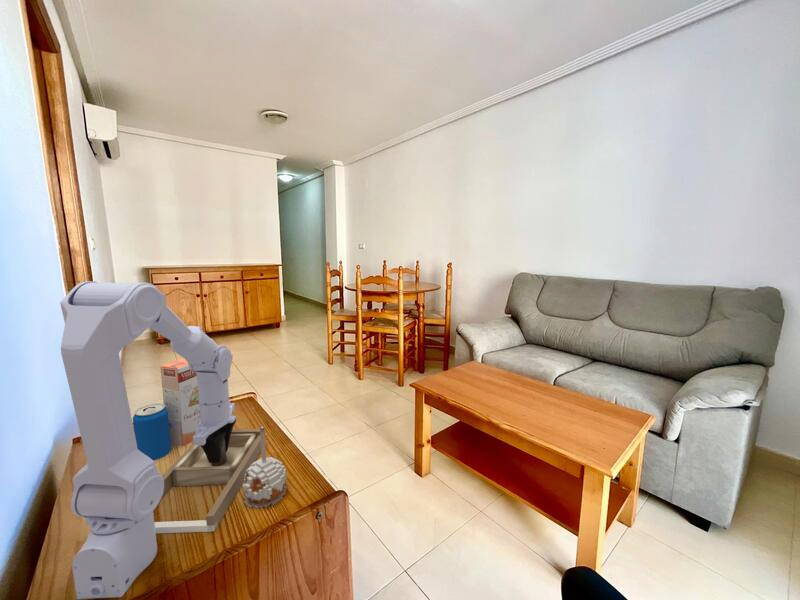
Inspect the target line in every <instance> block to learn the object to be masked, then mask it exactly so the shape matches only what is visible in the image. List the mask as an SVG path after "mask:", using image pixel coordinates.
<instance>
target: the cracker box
mask: <svg viewBox="0 0 800 600" xmlns="http://www.w3.org/2000/svg"><path fill="white" fill-rule="evenodd" d="M160 377H161V388H162V389H161V390H162V391H161V392H162V401H163V403H162V404H164V405H165V408H167V410H168V419H169V429H170V440H171V445H175V446H176V445H177V446H181V447H185V446H187V445H188V444H190V443H191V442H193V436H194V435H195V433H196V431H197V428H198V424H199V421H200V409H199V397H198V385H197V372H194V371H191V370H190V369H189V366H188V362H187V361H186V359H184V358H183V357H181V358H179V359H176V360H174V361H170V362H167V363H164V364H161V365H160Z"/></svg>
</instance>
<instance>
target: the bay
mask: <svg viewBox="0 0 800 600" xmlns="http://www.w3.org/2000/svg"><path fill="white" fill-rule="evenodd" d="M251 433H256V435H257V438H256V440H255V441H254V443H253V444H252V446H251V447H250V449H249V450H248V452H247V454H246V455H245V457H244V458H243V460H242V461H241V463H240V464H239V466H238V468H237V469H236V471H235V472H234V474H233V475H232V477H231V478H230V480H229V481H228V483H227V485H224V488H223V489H222V491H221V492H220V494H219V496H218V497H217V499H216V500H215V502H214V503H213V504H212V506H211V507H210V509H209V511H208V513H207V514H206V516H205V519H202V520H199V519H198V520H178V521H177V520H174V521H154V523H155V532H156V535H157V534H175V533H176V534H179V533H182V534H183V533H184V534H185V533H205V532H206V533H208V532H215V531H216V530H217V527H218V526H219V525H220V523H221V521H222V519H223V517H224V516H225V514H226V512H227V511H228V509H229V507H230V506H231V504H232V502H233V500H235V499H234V498H235V497H236V495H237V493H238V492H239V490H240V489H241V486H243V484H244V479H245V474H246V470H247V469H248V468H249V467H250V466H251V464H253V462H255V461H257V460H258V457H259V456H260V455H261V454H260V453H261V435H260V428H240V429H239V428H238V429H237V428H235V429H232V432H231V434H251ZM193 447H194V445H193V443H192V444H191V445H190V446H189V447H188V448H187V449H186V450H185V451H184V452H183V453H182V454H181V455H180V456H179V458H177V460H175V462H174V463H173V464H172V465H171V466H170V467H169V468H168V469H167V470H166V471H165V472H164V473H163V475H162V476H163V478H164V491H163V495H162V497H161V499H162V498H164V497H165V495H166V494H168V491H170V489H171V488H172V487H174V486H173V476H172V469H173V468H174V467H175V466H176V465H177V464H178V463H179V462H180V461H181V460H182V459H183V458H184V457H185V456H186V454H187V453H188V452H189V451H190V450H191V449H192V448H193Z"/></svg>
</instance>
